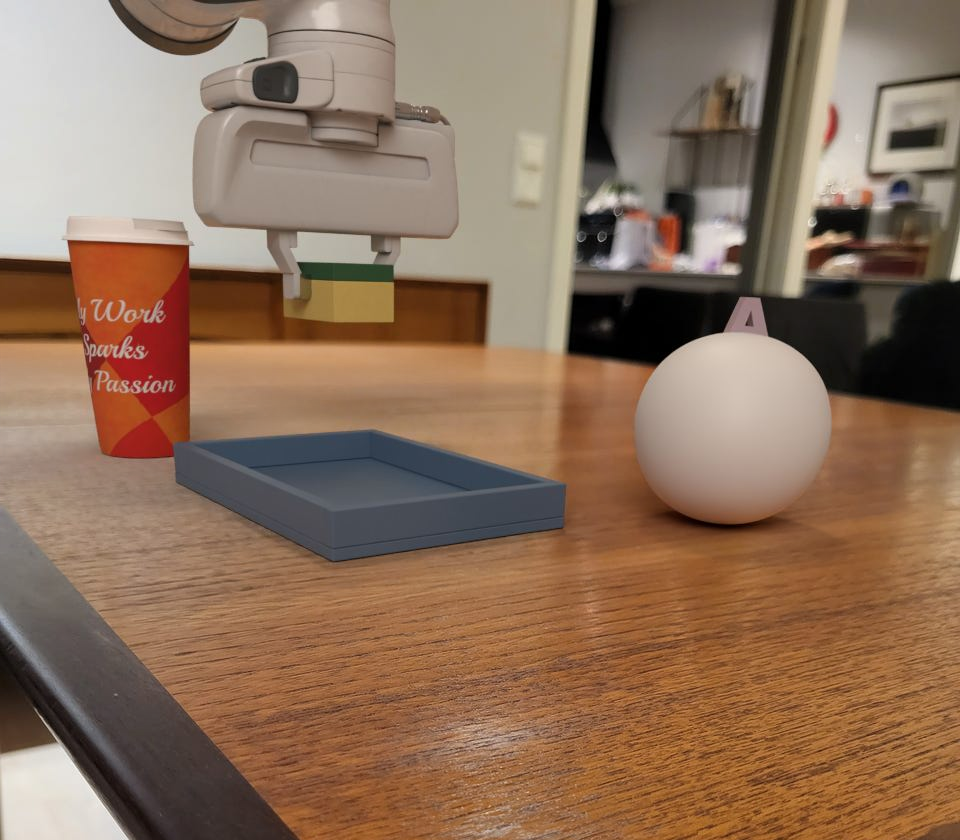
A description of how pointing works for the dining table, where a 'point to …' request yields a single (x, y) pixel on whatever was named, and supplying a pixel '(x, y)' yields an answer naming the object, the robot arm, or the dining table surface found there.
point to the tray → (367, 491)
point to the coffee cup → (134, 329)
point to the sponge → (346, 293)
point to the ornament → (733, 424)
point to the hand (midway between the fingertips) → (335, 300)
